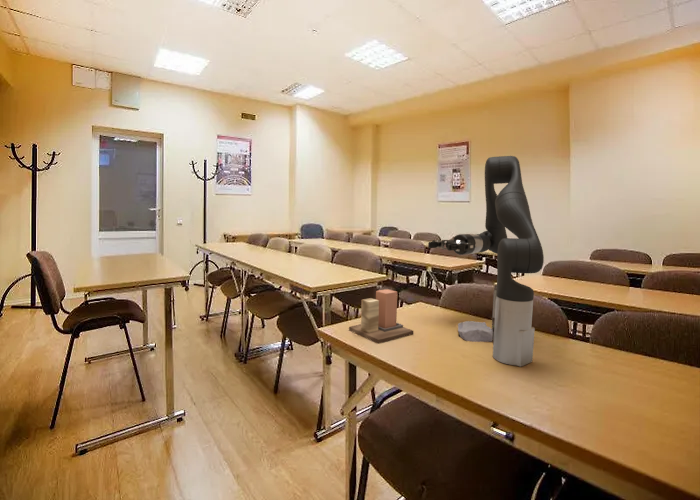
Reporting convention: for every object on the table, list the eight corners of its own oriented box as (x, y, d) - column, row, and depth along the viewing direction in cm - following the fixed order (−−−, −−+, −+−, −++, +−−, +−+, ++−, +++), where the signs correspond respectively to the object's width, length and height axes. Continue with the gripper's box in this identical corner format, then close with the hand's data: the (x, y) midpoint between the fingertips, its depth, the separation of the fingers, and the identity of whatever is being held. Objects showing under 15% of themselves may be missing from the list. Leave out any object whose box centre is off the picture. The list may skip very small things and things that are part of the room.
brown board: (413, 334, 122) (413, 330, 122) (378, 343, 114) (378, 339, 113) (382, 322, 134) (382, 319, 134) (349, 330, 126) (349, 326, 125)
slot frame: (403, 327, 126) (403, 325, 125) (384, 331, 121) (384, 329, 121) (386, 321, 132) (386, 319, 132) (368, 325, 127) (368, 323, 127)
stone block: (463, 347, 117) (496, 342, 116) (460, 332, 117) (493, 327, 116) (455, 335, 129) (485, 331, 128) (453, 322, 128) (483, 317, 127)
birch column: (378, 330, 122) (378, 300, 121) (368, 332, 119) (369, 302, 118) (370, 327, 125) (371, 298, 124) (360, 329, 123) (361, 299, 122)
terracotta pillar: (396, 326, 126) (397, 291, 125) (385, 329, 123) (386, 293, 122) (386, 323, 130) (387, 289, 129) (375, 325, 127) (376, 290, 126)
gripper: (452, 232, 144) (423, 234, 135) (485, 235, 133) (455, 236, 123) (451, 252, 145) (422, 254, 135) (483, 256, 134) (454, 259, 124)
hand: (438, 246), depth 129 cm, fingers open, 8 cm apart
